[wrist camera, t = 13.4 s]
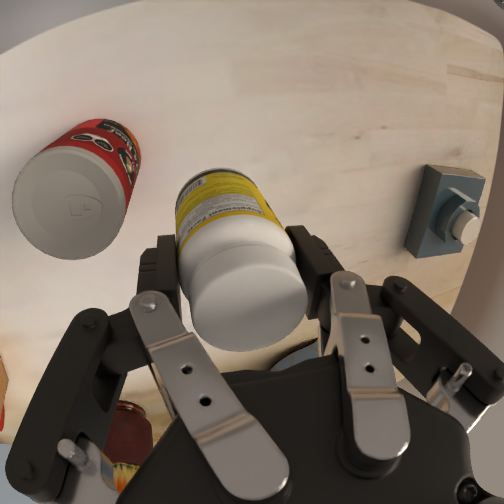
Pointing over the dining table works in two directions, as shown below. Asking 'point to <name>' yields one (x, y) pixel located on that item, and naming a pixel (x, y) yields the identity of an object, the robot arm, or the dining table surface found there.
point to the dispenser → (442, 209)
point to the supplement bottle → (236, 263)
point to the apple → (2, 419)
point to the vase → (128, 442)
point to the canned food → (78, 190)
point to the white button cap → (466, 227)
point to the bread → (2, 385)
